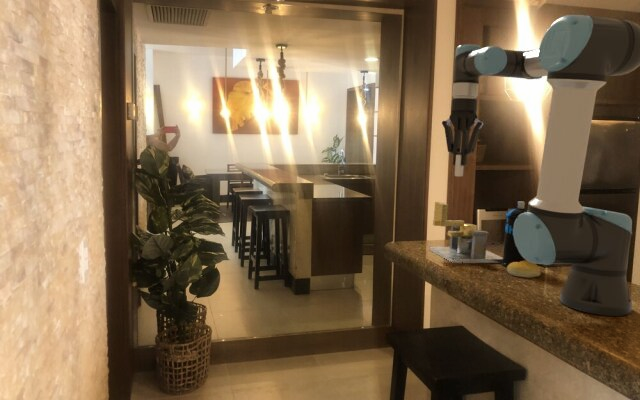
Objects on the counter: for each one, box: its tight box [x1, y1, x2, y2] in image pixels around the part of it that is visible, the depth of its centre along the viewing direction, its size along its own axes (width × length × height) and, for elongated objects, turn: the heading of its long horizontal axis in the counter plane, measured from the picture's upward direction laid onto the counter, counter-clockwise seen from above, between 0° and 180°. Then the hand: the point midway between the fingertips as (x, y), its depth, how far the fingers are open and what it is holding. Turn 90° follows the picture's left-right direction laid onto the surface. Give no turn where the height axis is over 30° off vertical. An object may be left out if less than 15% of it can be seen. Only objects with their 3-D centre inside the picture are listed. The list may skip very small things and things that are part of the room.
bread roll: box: [506, 260, 541, 279], centre depth 154 cm, size 8×9×4 cm
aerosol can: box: [501, 201, 528, 268], centre depth 163 cm, size 8×8×20 cm
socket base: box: [429, 226, 503, 264], centre depth 174 cm, size 18×18×10 cm
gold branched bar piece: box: [432, 201, 489, 238], centre depth 173 cm, size 6×18×11 cm, turn 101°
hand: (458, 176), depth 164 cm, fingers closed
